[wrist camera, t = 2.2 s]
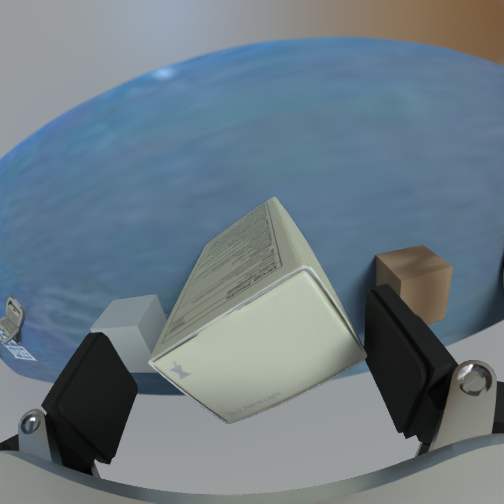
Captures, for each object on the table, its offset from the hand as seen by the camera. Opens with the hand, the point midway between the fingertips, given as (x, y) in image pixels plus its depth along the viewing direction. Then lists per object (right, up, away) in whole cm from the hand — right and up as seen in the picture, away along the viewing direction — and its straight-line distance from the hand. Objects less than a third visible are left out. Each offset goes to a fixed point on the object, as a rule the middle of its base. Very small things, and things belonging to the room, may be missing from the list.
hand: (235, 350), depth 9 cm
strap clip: (-30, -5, +15) cm, 34 cm away
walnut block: (+13, +1, +11) cm, 17 cm away
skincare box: (+1, +4, +11) cm, 11 cm away
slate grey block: (-9, -3, +13) cm, 16 cm away
